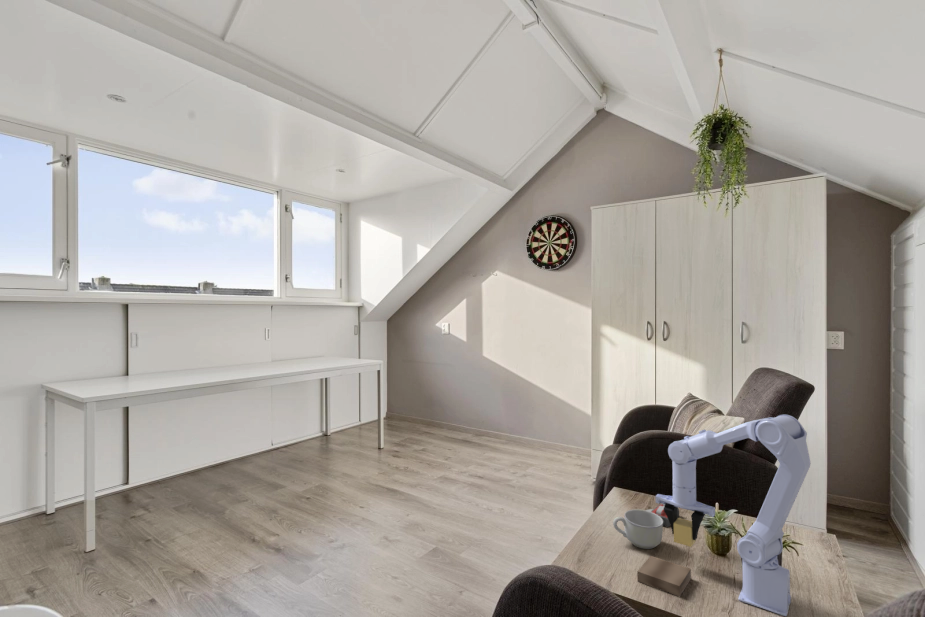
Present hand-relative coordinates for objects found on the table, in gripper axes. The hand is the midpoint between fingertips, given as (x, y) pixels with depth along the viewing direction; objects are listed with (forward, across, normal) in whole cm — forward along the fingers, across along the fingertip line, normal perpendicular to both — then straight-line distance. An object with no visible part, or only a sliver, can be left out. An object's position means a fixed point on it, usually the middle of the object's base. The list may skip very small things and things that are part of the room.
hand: (684, 535), depth 126 cm
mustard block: (+2, 0, 0) cm, 2 cm away
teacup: (+8, +14, -4) cm, 17 cm away
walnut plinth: (+8, +2, +11) cm, 14 cm away
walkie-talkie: (+8, +15, -23) cm, 29 cm away
